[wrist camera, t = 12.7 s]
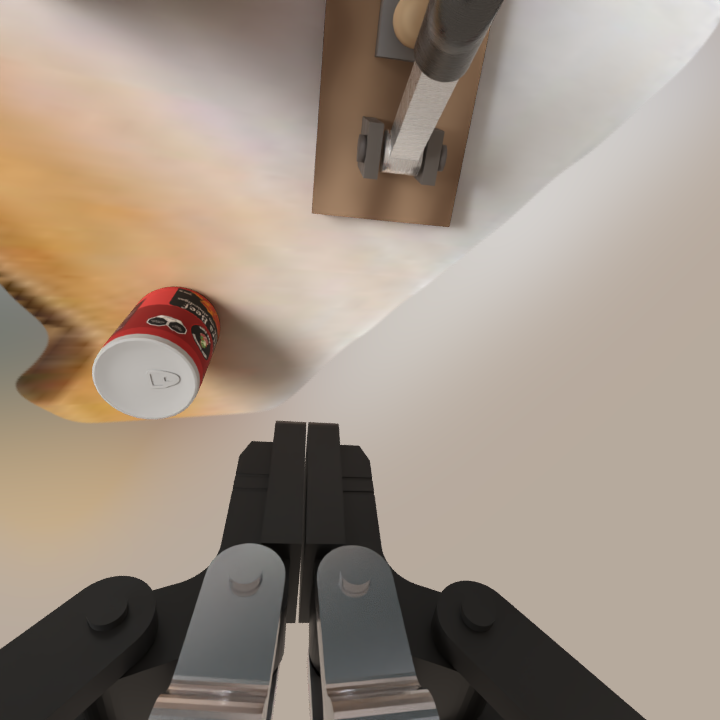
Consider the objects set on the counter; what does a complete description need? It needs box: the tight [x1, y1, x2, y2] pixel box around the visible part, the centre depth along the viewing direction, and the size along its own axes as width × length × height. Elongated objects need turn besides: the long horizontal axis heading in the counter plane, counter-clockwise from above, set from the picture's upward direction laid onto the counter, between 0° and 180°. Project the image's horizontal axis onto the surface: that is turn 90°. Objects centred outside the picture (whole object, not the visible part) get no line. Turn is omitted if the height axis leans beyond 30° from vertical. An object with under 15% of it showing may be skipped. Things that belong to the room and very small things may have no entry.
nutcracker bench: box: [312, 0, 491, 227], centre depth 36 cm, size 12×20×8 cm, turn 173°
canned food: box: [92, 287, 220, 419], centre depth 43 cm, size 8×8×11 cm
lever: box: [380, 0, 503, 176], centre depth 26 cm, size 4×4×20 cm
